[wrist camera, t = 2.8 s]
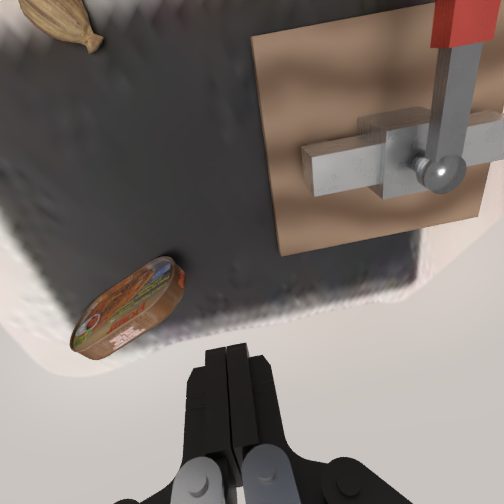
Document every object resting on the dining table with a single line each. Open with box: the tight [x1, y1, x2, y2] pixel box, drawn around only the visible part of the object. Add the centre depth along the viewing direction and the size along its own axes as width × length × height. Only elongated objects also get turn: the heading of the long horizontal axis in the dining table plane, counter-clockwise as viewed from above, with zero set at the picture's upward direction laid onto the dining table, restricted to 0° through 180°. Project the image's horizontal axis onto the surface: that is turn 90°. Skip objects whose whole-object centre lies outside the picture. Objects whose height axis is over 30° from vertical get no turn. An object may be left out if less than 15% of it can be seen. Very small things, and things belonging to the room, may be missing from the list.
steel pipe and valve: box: [301, 106, 504, 199], centre depth 31 cm, size 6×18×6 cm, turn 99°
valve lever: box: [411, 0, 501, 194], centre depth 23 cm, size 15×3×4 cm, turn 9°
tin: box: [70, 256, 186, 360], centre depth 37 cm, size 15×3×8 cm, turn 124°
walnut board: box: [250, 0, 504, 256], centre depth 34 cm, size 22×24×2 cm
